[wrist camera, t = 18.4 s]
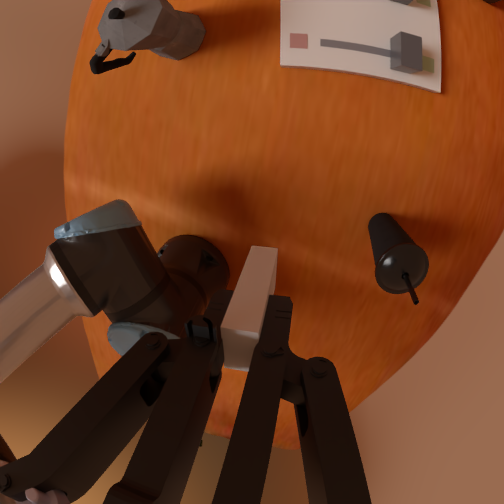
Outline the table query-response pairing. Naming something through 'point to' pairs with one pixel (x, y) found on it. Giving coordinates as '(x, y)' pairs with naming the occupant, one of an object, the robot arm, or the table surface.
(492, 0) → the beer bottle
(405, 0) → the lever
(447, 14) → the table surface
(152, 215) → the table surface
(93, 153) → the table surface
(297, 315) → the table surface
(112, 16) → the coffeepot
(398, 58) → the on lever
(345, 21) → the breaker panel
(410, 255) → the drinking cup
